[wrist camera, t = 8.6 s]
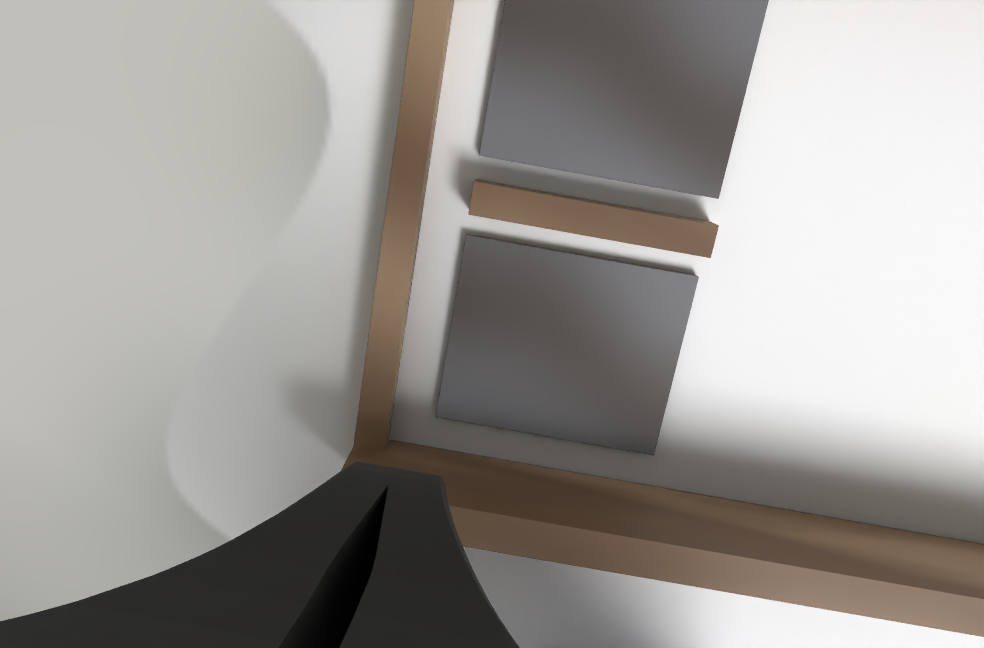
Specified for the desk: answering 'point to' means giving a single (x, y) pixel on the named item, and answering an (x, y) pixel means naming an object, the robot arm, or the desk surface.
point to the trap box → (609, 316)
